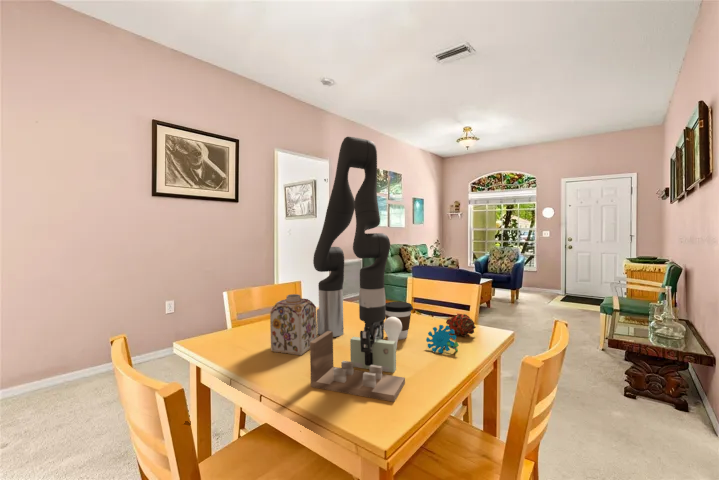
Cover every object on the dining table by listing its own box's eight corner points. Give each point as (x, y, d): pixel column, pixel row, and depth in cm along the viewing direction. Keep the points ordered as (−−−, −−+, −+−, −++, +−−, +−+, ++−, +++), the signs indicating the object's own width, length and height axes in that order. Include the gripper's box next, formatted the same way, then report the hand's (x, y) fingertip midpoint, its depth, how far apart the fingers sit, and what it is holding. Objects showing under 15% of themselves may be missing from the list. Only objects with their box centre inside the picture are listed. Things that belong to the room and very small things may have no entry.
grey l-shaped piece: (310, 386, 87) (310, 342, 86) (328, 371, 96) (327, 330, 96) (394, 401, 78) (393, 352, 78) (404, 383, 88) (404, 339, 87)
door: (348, 368, 98) (348, 340, 98) (353, 363, 101) (353, 336, 101) (392, 374, 93) (392, 345, 93) (396, 369, 97) (395, 341, 96)
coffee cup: (379, 339, 122) (379, 306, 122) (388, 331, 133) (388, 300, 132) (409, 343, 118) (409, 308, 118) (416, 333, 128) (416, 302, 128)
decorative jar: (288, 340, 123) (287, 291, 122) (317, 344, 119) (317, 292, 118) (269, 352, 112) (268, 297, 111) (300, 356, 108) (299, 299, 107)
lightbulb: (390, 354, 108) (389, 320, 107) (380, 348, 113) (379, 316, 113) (406, 351, 110) (405, 317, 110) (395, 345, 116) (395, 313, 115)
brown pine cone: (475, 343, 121) (447, 340, 131) (484, 325, 126) (457, 323, 135) (464, 327, 119) (437, 324, 128) (473, 309, 123) (446, 308, 133)
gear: (419, 343, 113) (435, 319, 116) (426, 352, 116) (441, 328, 119) (447, 357, 104) (463, 331, 108) (454, 366, 108) (469, 340, 111)
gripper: (368, 297, 105) (369, 350, 106) (350, 307, 92) (351, 368, 92) (392, 298, 103) (392, 353, 103) (376, 309, 89) (377, 372, 90)
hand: (373, 360), depth 98 cm, fingers open, 6 cm apart
